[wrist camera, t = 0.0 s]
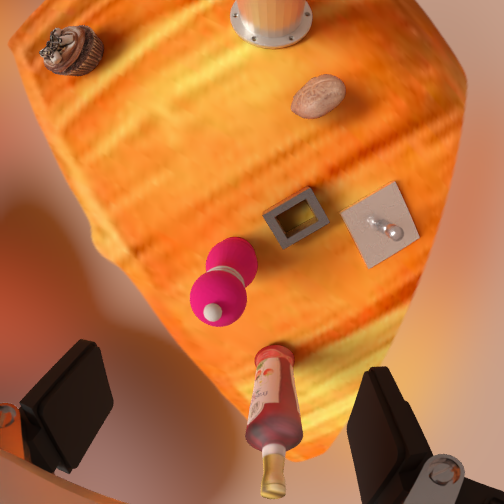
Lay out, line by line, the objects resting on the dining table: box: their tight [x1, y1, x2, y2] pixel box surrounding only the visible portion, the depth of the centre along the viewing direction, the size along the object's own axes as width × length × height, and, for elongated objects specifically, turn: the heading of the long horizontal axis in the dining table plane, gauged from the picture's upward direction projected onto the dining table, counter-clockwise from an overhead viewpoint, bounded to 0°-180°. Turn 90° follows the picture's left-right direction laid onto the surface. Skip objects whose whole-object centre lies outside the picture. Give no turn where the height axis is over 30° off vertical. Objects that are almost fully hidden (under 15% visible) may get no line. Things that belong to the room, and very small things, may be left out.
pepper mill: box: [190, 237, 258, 327], centre depth 38 cm, size 7×7×20 cm
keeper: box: [339, 181, 420, 269], centre depth 41 cm, size 10×10×7 cm
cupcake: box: [39, 25, 104, 76], centre depth 34 cm, size 10×10×10 cm
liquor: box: [245, 345, 303, 499], centre depth 38 cm, size 7×7×28 cm
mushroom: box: [291, 74, 346, 119], centre depth 36 cm, size 8×6×8 cm
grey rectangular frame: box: [262, 186, 330, 249], centre depth 43 cm, size 8×6×4 cm
